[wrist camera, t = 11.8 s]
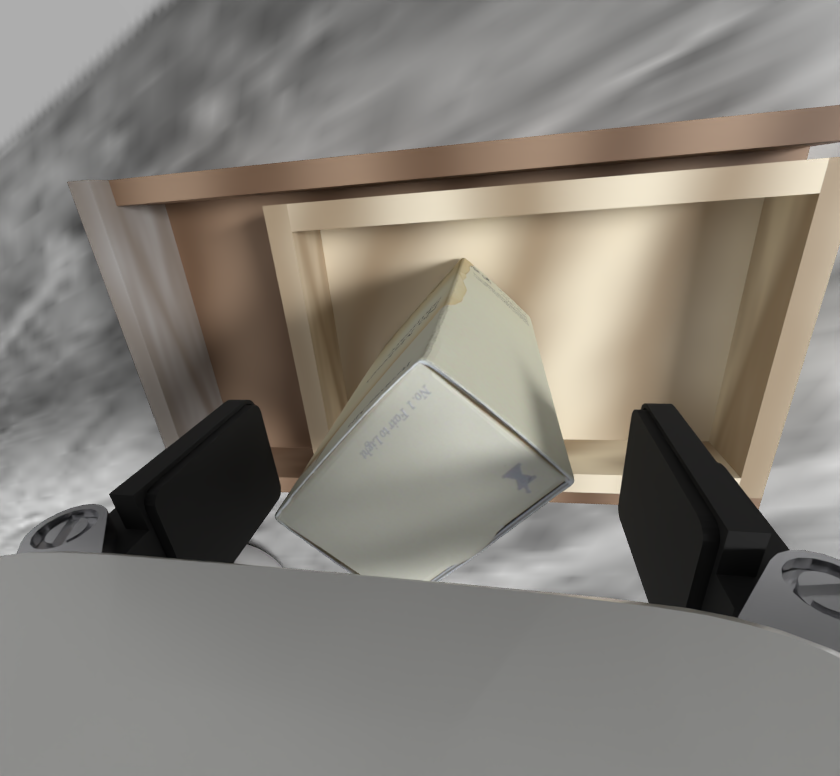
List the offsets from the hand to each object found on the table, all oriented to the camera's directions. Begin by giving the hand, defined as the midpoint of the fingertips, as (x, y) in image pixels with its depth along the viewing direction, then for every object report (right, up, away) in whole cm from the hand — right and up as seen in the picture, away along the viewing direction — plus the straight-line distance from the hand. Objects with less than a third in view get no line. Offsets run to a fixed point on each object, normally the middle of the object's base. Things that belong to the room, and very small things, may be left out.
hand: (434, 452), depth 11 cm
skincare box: (+1, +4, +10) cm, 11 cm away
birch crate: (+4, +4, +10) cm, 12 cm away
